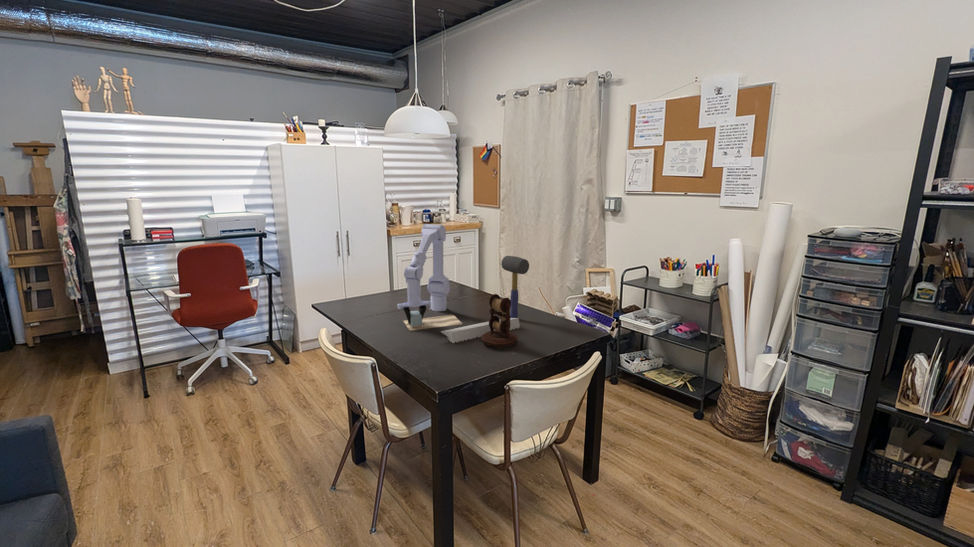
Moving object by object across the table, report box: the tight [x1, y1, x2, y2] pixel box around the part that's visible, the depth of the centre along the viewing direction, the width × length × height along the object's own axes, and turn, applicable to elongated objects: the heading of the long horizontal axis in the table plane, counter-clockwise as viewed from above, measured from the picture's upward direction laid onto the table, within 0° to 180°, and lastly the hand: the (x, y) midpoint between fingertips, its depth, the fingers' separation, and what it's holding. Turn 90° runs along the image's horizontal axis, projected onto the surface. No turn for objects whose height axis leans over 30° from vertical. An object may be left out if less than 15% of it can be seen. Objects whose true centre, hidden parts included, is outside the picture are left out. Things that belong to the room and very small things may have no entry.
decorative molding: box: [440, 317, 521, 344], centre depth 197 cm, size 34×5×10 cm
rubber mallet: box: [501, 255, 530, 318], centre depth 210 cm, size 12×8×30 cm, turn 41°
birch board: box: [402, 314, 463, 332], centre depth 205 cm, size 14×24×2 cm, turn 111°
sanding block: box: [410, 309, 422, 328], centre depth 201 cm, size 8×4×5 cm, turn 21°
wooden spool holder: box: [480, 293, 519, 350], centre depth 183 cm, size 15×15×20 cm
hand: (415, 322), depth 202 cm, fingers closed on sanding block, 4 cm apart
